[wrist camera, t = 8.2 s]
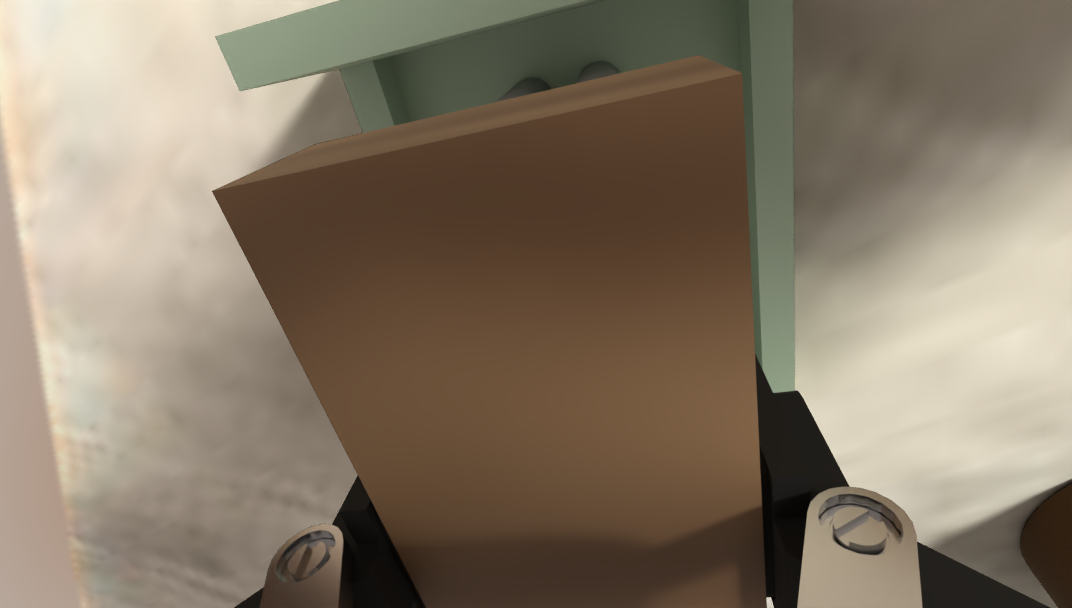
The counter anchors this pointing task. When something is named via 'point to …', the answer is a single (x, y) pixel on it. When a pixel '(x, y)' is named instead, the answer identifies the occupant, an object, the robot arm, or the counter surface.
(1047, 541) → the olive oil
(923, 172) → the counter surface
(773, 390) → the frame
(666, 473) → the board
